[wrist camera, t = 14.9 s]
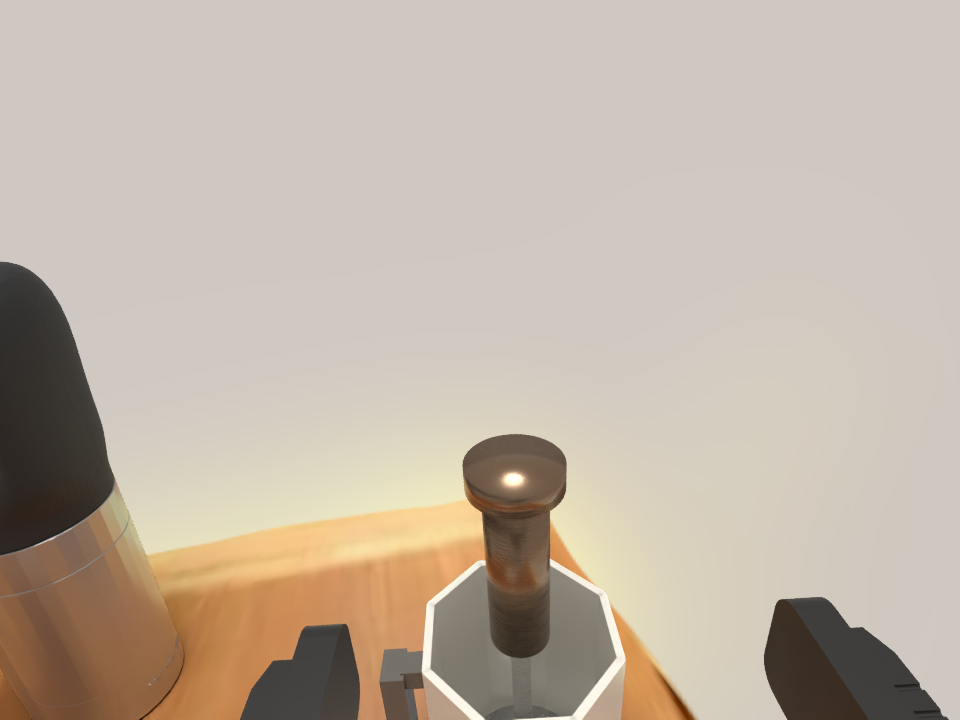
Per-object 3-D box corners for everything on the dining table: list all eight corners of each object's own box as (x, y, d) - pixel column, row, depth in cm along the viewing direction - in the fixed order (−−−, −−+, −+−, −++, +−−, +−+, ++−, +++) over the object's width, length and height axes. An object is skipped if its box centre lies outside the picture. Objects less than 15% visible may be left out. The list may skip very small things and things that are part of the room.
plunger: (459, 863, 29) (414, 531, 19) (460, 715, 36) (428, 420, 27) (605, 854, 29) (631, 518, 20) (578, 708, 36) (586, 411, 27)
